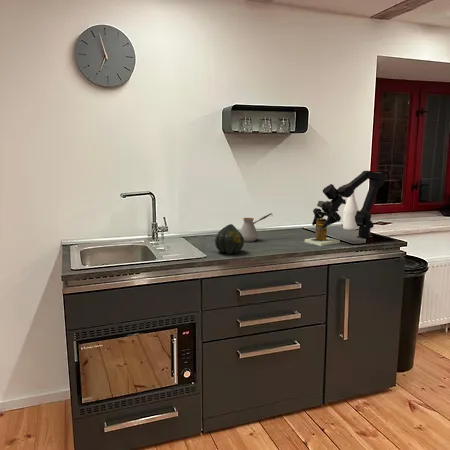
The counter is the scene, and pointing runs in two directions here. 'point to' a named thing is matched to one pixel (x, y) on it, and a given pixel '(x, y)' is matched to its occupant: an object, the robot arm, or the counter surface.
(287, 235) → the counter surface
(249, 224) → the coffee pot
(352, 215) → the wine bottle
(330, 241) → the board
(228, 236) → the squash
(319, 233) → the condiment
